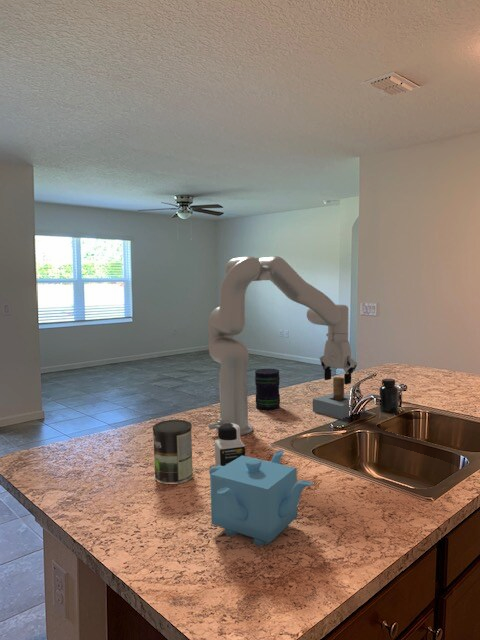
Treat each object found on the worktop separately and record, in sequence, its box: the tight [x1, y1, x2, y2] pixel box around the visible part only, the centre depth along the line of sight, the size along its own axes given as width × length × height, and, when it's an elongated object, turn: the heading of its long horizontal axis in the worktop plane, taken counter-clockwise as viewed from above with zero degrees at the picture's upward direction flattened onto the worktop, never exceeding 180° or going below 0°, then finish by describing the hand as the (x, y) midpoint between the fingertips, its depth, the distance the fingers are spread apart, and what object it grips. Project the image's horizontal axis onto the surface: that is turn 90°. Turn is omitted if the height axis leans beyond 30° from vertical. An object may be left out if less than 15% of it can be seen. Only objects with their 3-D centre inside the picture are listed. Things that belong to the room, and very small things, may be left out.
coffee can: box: [152, 419, 194, 484], centre depth 125 cm, size 10×10×14 cm
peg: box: [332, 376, 345, 402], centre depth 180 cm, size 4×4×12 cm
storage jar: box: [254, 368, 281, 412], centre depth 188 cm, size 10×10×15 cm
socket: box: [312, 393, 366, 420], centre depth 181 cm, size 14×14×5 cm
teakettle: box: [209, 449, 314, 547], centre depth 98 cm, size 19×19×15 cm
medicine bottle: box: [214, 423, 246, 466], centre depth 131 cm, size 7×7×12 cm
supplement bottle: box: [379, 378, 399, 413], centre depth 180 cm, size 7×7×12 cm
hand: (337, 381), depth 180 cm, fingers open, 9 cm apart
